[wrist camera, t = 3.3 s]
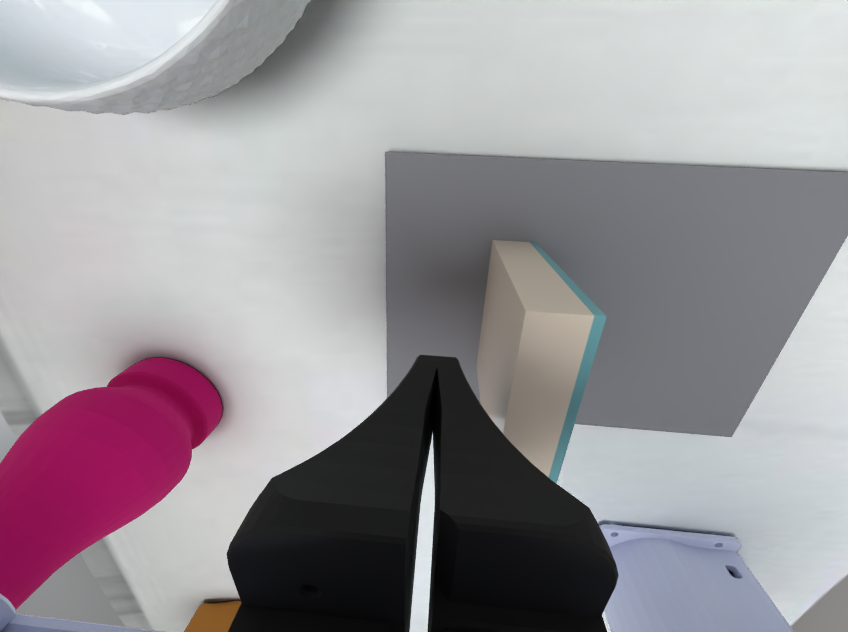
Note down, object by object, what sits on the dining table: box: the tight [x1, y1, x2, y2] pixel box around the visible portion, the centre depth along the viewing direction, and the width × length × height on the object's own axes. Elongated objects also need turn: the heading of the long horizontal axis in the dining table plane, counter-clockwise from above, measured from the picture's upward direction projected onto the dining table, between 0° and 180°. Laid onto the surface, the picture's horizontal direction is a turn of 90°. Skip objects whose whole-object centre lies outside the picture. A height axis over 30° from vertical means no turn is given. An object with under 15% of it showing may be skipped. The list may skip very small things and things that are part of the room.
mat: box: [385, 152, 848, 437], centre depth 17 cm, size 20×14×1 cm
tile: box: [476, 240, 607, 483], centre depth 14 cm, size 2×7×8 cm, turn 178°
